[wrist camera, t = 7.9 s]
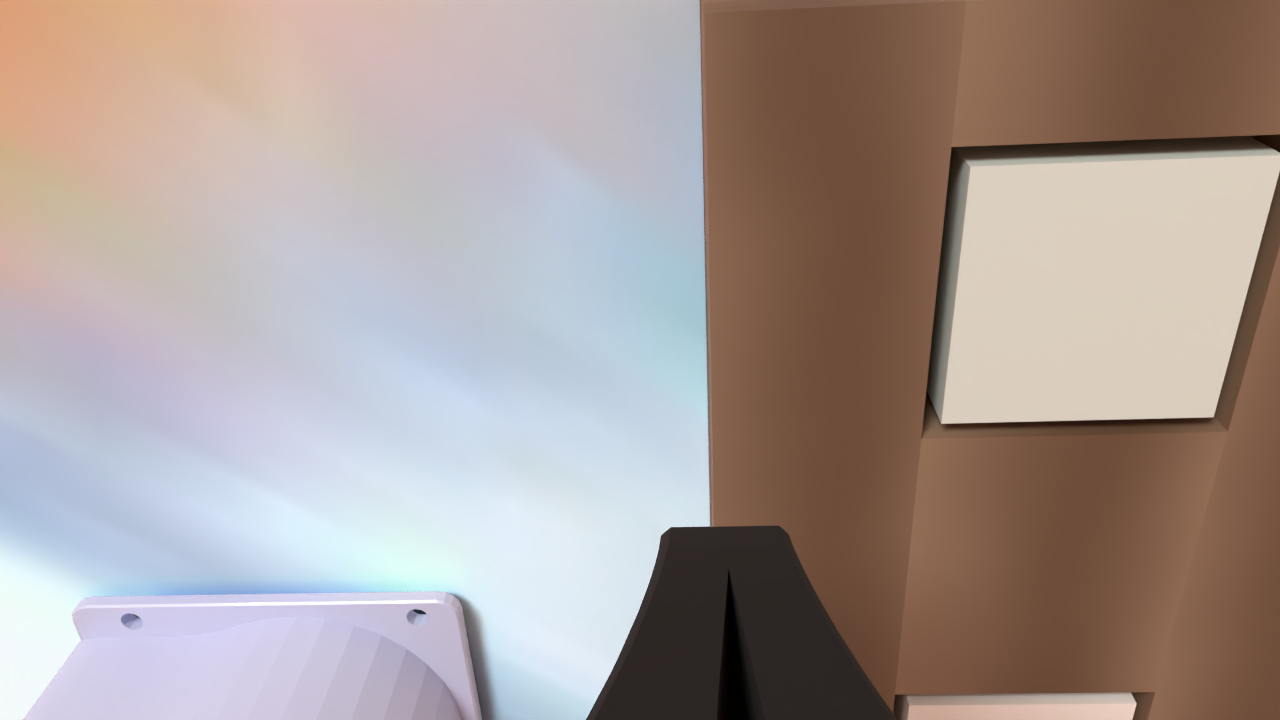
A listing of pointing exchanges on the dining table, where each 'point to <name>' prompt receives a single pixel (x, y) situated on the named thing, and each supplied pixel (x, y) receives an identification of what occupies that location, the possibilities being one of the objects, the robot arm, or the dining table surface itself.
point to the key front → (1095, 277)
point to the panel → (901, 342)
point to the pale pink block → (1015, 706)
